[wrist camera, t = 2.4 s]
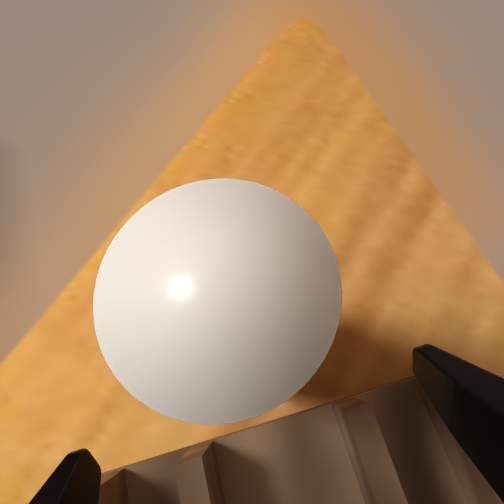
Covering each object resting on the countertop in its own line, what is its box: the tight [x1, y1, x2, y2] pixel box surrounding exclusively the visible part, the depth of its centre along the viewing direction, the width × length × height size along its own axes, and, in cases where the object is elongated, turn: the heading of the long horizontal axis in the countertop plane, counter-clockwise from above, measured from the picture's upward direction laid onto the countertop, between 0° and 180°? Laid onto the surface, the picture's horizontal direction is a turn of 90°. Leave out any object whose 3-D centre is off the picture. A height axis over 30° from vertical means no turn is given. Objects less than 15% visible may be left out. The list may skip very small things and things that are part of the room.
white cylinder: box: [93, 178, 342, 425], centre depth 12 cm, size 5×5×13 cm
